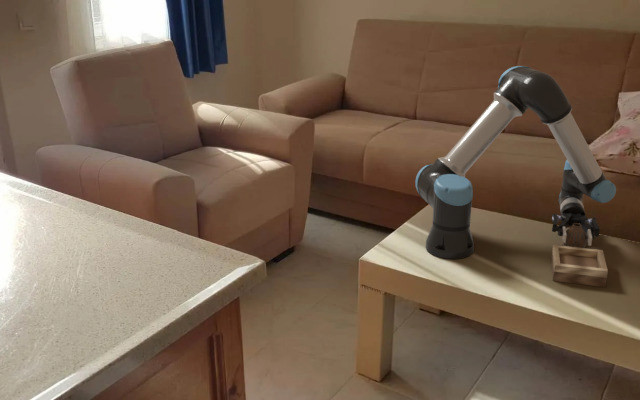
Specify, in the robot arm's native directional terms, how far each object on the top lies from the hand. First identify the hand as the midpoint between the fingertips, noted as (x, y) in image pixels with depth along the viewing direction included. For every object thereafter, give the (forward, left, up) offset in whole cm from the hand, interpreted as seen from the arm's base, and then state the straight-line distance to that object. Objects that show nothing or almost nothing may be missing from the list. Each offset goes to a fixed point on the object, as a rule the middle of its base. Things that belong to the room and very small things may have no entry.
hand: (577, 240), depth 190 cm
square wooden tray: (-4, -8, -6) cm, 11 cm away
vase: (+2, +5, -6) cm, 9 cm away
